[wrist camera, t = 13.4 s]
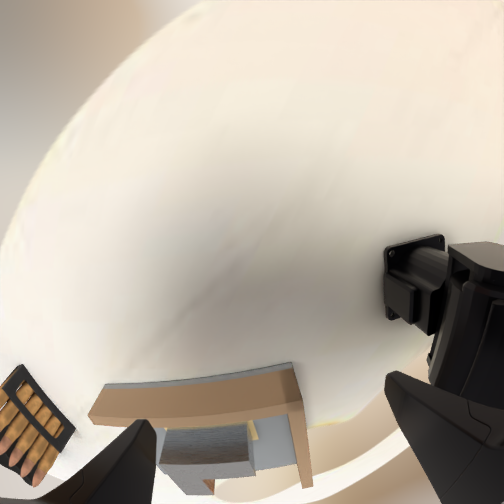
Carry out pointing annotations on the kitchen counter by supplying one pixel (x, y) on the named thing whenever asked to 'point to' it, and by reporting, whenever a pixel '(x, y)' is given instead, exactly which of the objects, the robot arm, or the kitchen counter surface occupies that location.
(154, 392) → the arena
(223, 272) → the kitchen counter surface
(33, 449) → the ammunition clip
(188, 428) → the angle bracket
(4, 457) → the pen holder
